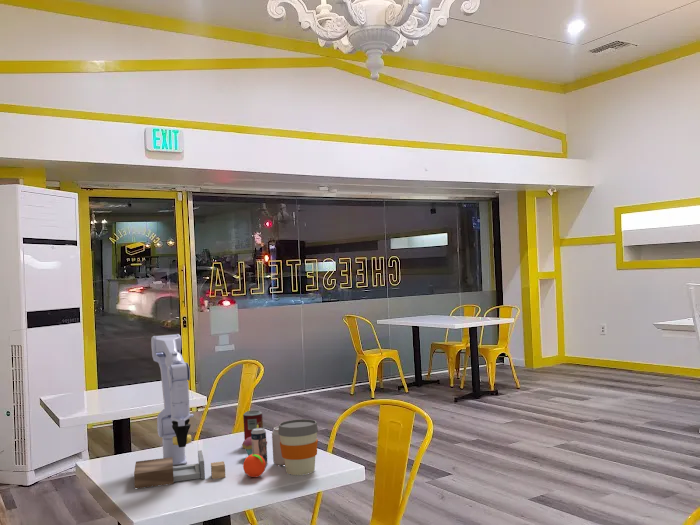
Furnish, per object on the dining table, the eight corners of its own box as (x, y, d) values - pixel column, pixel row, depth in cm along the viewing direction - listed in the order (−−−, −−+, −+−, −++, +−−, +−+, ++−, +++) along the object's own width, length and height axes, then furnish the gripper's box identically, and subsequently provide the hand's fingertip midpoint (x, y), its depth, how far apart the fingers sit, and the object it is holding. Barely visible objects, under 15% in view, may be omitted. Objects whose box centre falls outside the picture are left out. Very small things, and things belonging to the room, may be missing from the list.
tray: (166, 471, 216) (165, 454, 216) (202, 466, 219) (201, 450, 219) (166, 483, 202) (165, 465, 203) (204, 478, 206) (204, 460, 206)
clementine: (272, 476, 204) (271, 453, 205) (254, 482, 200) (253, 458, 200) (257, 472, 210) (256, 449, 210) (239, 477, 205) (238, 454, 205)
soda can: (265, 445, 244) (263, 412, 244) (245, 448, 242) (243, 414, 243) (262, 441, 251) (260, 409, 251) (243, 443, 249) (242, 411, 249)
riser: (211, 475, 209) (210, 462, 209) (224, 473, 210) (223, 461, 210) (212, 479, 205) (211, 466, 205) (225, 477, 206) (224, 464, 206)
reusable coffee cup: (287, 479, 200) (284, 429, 201) (275, 469, 212) (272, 422, 212) (326, 472, 205) (323, 424, 206) (312, 463, 217) (309, 417, 217)
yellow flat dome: (173, 441, 213) (172, 435, 213) (191, 439, 214) (191, 433, 214) (172, 445, 207) (172, 439, 207) (191, 443, 209) (191, 437, 209)
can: (269, 466, 216) (267, 429, 217) (280, 459, 223) (278, 424, 224) (289, 467, 214) (287, 430, 214) (300, 461, 220) (298, 424, 221)
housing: (136, 475, 214) (135, 461, 214) (173, 470, 217) (172, 457, 217) (134, 488, 199) (133, 473, 199) (173, 483, 202) (173, 468, 203)
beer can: (264, 468, 214) (262, 430, 215) (250, 468, 215) (248, 430, 216) (269, 463, 219) (267, 427, 219) (255, 463, 220) (253, 427, 220)
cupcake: (272, 455, 230) (271, 420, 230) (256, 461, 223) (255, 425, 223) (253, 452, 235) (252, 418, 235) (237, 459, 227) (235, 424, 228)
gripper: (193, 404, 205) (196, 448, 205) (191, 396, 219) (193, 438, 219) (170, 406, 203) (172, 451, 203) (169, 399, 217) (171, 440, 217)
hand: (182, 444), depth 211 cm, fingers closed on yellow flat dome, 6 cm apart
